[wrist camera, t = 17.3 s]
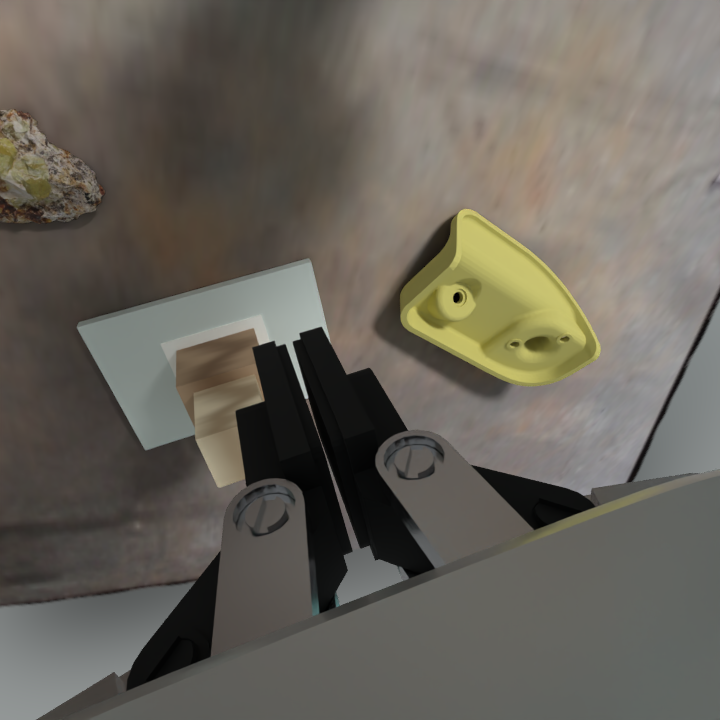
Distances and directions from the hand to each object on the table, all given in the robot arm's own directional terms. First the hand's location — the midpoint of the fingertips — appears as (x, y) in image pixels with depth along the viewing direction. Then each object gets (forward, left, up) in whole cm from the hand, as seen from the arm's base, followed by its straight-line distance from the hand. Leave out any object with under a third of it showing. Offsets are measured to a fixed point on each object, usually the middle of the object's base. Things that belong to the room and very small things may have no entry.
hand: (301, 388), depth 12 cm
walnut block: (+5, +18, -32) cm, 37 cm away
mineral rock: (+13, -2, -34) cm, 36 cm away
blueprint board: (+5, +17, -33) cm, 38 cm away
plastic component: (-22, +20, -34) cm, 45 cm away
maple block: (+5, +18, -26) cm, 32 cm away
